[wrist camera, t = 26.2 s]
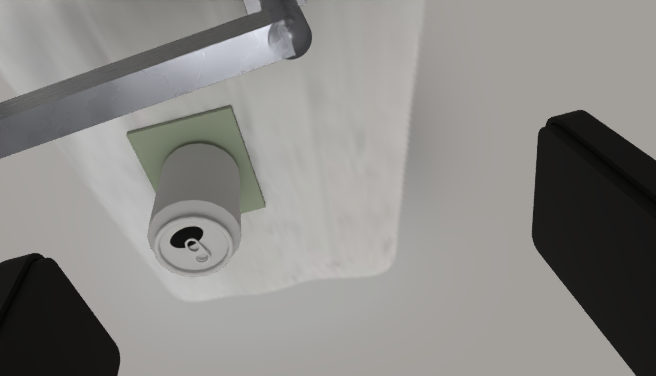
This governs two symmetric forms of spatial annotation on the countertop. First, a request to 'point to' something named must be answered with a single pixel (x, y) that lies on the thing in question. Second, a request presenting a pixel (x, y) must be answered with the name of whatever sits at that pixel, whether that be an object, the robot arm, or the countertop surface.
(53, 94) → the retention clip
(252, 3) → the clip base
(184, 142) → the mat
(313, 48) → the countertop surface
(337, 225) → the countertop surface
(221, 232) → the can
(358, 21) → the countertop surface
